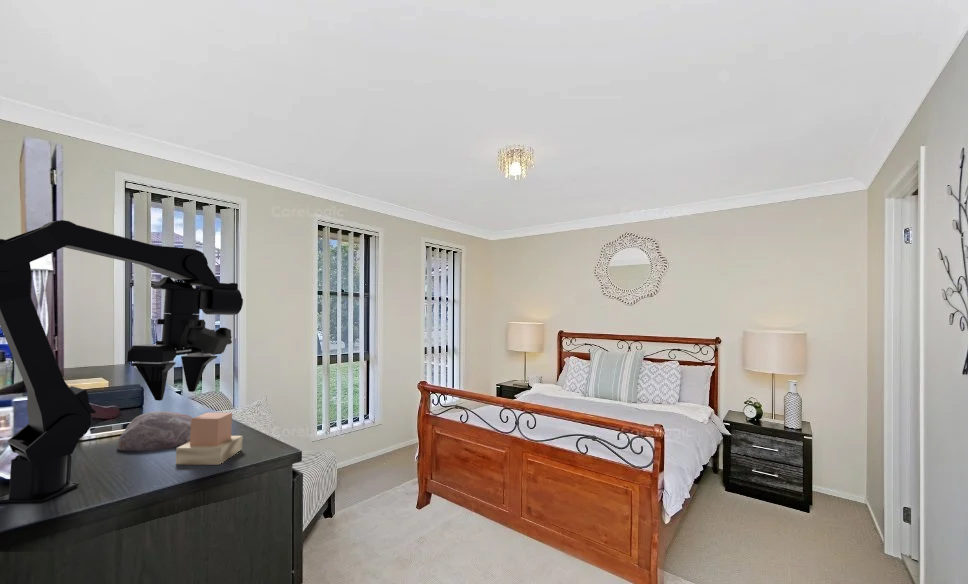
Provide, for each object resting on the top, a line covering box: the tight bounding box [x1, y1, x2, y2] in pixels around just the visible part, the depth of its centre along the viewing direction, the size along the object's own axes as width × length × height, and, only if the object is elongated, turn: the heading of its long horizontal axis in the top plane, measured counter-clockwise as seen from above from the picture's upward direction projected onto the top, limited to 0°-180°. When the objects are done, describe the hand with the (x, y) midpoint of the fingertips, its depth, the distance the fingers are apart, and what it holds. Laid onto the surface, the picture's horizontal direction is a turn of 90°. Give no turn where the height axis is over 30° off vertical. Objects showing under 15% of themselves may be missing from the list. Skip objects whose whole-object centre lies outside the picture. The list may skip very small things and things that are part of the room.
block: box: [190, 412, 233, 446], centre depth 85 cm, size 5×5×5 cm
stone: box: [117, 411, 194, 452], centre depth 94 cm, size 17×10×10 cm
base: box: [175, 435, 243, 466], centre depth 85 cm, size 8×8×3 cm
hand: (176, 395), depth 83 cm, fingers open, 9 cm apart
